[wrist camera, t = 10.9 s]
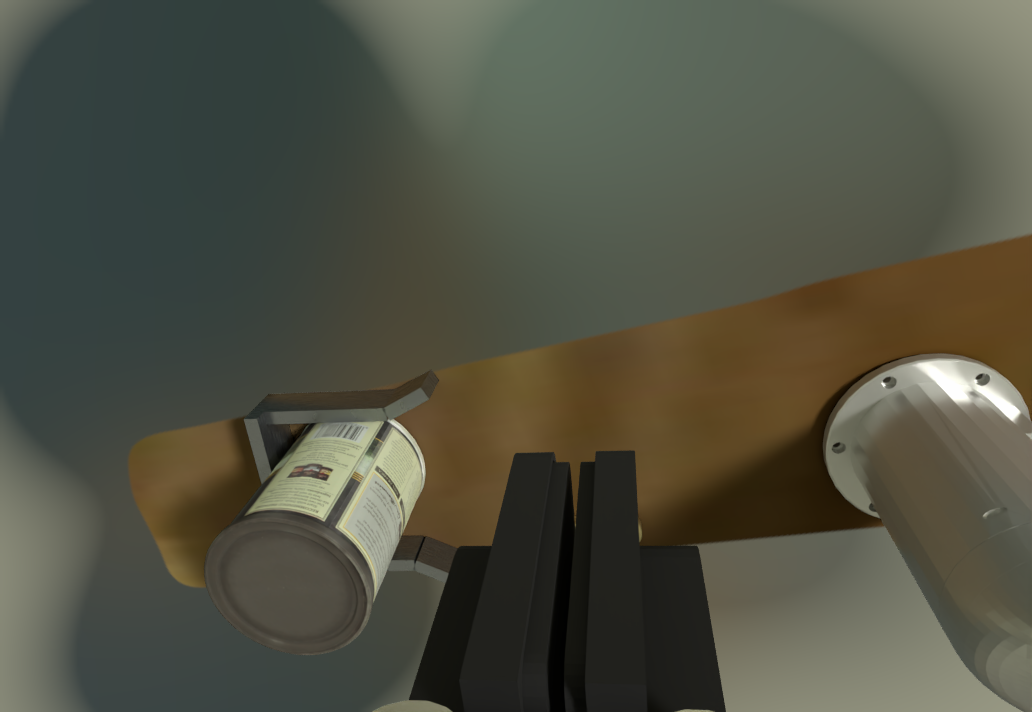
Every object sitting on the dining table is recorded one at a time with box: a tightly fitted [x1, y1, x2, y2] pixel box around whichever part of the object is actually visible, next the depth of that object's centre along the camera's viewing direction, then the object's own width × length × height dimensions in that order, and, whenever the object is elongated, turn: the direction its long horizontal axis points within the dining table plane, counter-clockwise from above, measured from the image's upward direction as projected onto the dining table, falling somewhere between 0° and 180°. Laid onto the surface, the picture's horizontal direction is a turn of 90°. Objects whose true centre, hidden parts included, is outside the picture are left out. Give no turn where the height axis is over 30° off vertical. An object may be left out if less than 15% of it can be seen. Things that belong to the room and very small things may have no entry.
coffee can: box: [204, 419, 425, 655], centre depth 49 cm, size 10×10×14 cm
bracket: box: [244, 370, 457, 583], centre depth 54 cm, size 13×17×4 cm
